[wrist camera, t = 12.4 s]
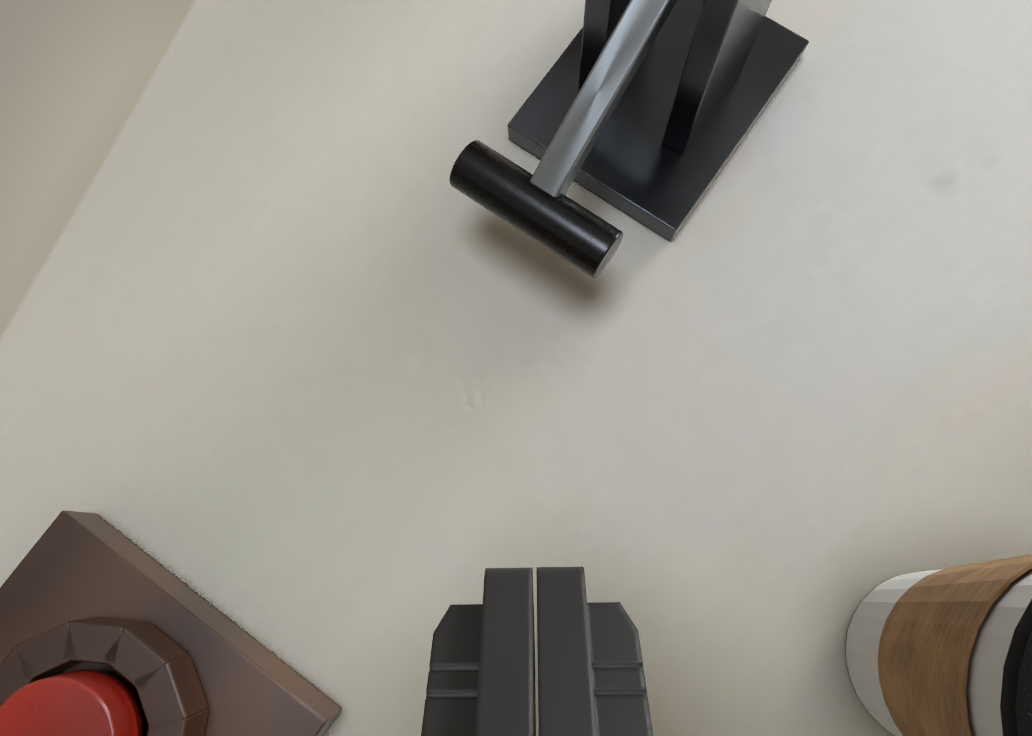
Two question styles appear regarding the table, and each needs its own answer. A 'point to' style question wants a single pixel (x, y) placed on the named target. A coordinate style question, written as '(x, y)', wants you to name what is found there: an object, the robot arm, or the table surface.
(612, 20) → the lever stand
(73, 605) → the button block
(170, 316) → the table surface
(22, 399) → the table surface
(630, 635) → the robot arm
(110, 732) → the button
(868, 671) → the coffee cup
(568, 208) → the tap lever
